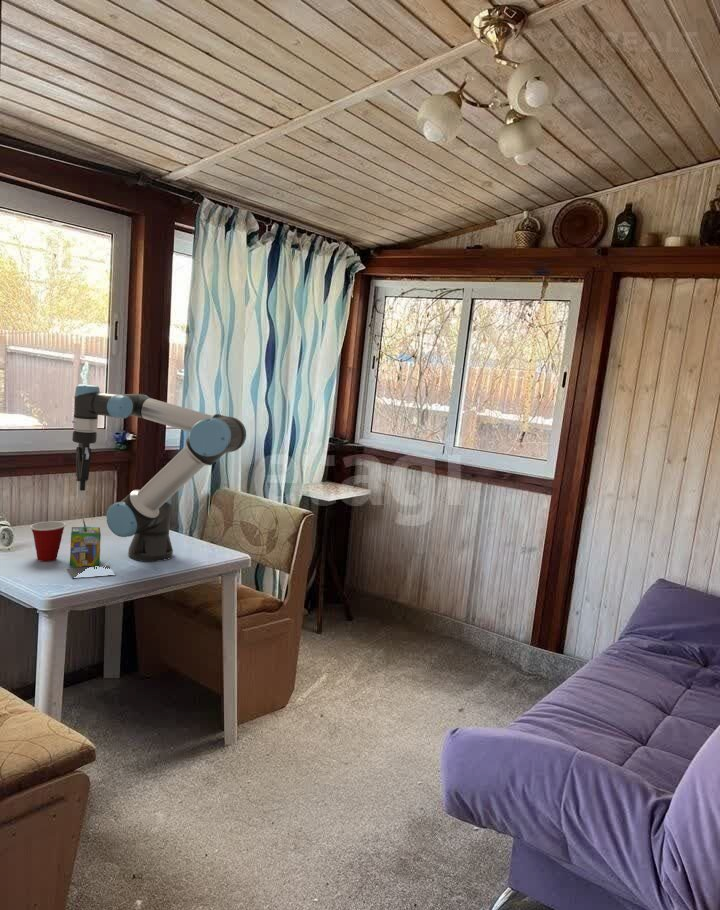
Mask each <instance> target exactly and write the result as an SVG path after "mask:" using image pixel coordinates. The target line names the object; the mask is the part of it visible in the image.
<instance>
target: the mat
mask: <svg viewBox="0 0 720 910" xmlns="http://www.w3.org/2000/svg"><path fill="white" fill-rule="evenodd" d="M100 566H101V565H100ZM100 566H99V567H100ZM103 566H104V567H105V566H106V567H105V569H106V568H107V569H108V568H109V569H110V568H111V566H110V565H103ZM93 567H94V569H95V566H93ZM104 567H103V568H104ZM88 568H89V567H88ZM85 569H87V567H68V568H66V571H67V570H68V571H67V573H68V572H69V573H70V574H69V573H68V574H69V576H70V575H71V576H72V577H71V576H70V577H71V579H72V578H74V577H76V576H77V575H78V573H79V574H80V573H82V572H83V571H85ZM96 569H97V567H96Z"/></svg>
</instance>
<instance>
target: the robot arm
mask: <svg viewBox="0 0 720 910" xmlns="http://www.w3.org/2000/svg"><path fill="white" fill-rule="evenodd" d="M73 398H74V401H73V402H74V406H73V407H74V414H73V420H71V423H72V424H73V425H72V427H73V429H74V430H73V431H72V439H71V440H72V442H74V443H78V445H77V447H76V449H75V452H76V454H75V455H76V459H75V460H76V462H75V463H76V466H75V467H76V470H75V471H76V473H75V476H76V495H75V496H76V500H77V501H80V500H83V501H84V500H86V499H87V481H88V480H89V476H90V468H91V460H92V456H93V455H92V448H90V447H91V445H90V444H95V443H97V438H98V437H97V435H98V433H97V431H98V422H99V418H98V417H99V416H103V417H111V418H114V419H127V418H129V417H136V418H140V419H143V420H144V419H145V420H147V421H151V422H154V423H156V424H157V423H158V424H161V425H164V426H168V427H171V428H174V429H178V430H182V431H184V432H188V433H189V436H187V438H186V439H185V446H184V447H183V448H182V449H181V450H180V451H179V452H178V453H176V455H175V456H173V458H171V460H169V462H167V464H166V465H164V467H162V468H161V469H160V470H159V471H158V472H157V473H156V474H155V475H154V476H153V477H151V479H149V481H148V482H147V483H146V484H145V485H144V486H143V487H141V489H133V490H132V491H130V493H129V494H127V495H126V496H125V497H124V498H123V499H122V500H121V501H117V502H115V503H113V504H111V505H110V506H109V507H108V508H107V511H106V515H105V516H106V524H107V527H108V529H109V530H110V531H111V533H113V535H115V536H117V537H120V538H127V537H132V536H133V537H132V539H131V542H130V545H129V547H128V553H127V554H128V555H127V557H129V558H130V559H133V560H136V561H140V560H142V561H141V562H158V561H157V560H163V561H165V560H164V559H167V560H169V559H168V558H170V559H172V558H173V554H174V553H173V552H174V549H173V546H172V545H173V544H172V541H171V538H170V525H171V524H170V523H171V512H172V497H173V496H174V494H176V493H177V492H178V491H179V490H180V489H181V488H182V487H183V486H184V485H185V484H186V483H188V482H189V481H190V480H191V479H192V478H193V477H194V476H195V475H196V474H198V472H199V471H201V469H202V468H203V467H205V466H213V465H214V464H215V463H216V462H217V461H218V460H219V459H221V457H222V456H224V454H227V453H233V452H235V451H238V450H239V449H241V447H243V446H244V444H245V441H246V440H247V429H246V426H245V425H244V423H243V422H242V421H241V420H240V419H239V418H236V417H232V416H226V415H223V414H218V413H215V414H213V415H211V414H208V413H204V412H200V411H197V410H194V409H189V408H187V407H183V406H179V405H176V404H172V403H170V402H166V401H161V400H158V399H154V398H152V397H149V396H148V395H146V394H142V393H127V394H126V393H121V394H120V393H104V392H101V391H100V387H99V385H93V384H82V383H80V384H77V385H76V387H75V392H74V397H73ZM171 557H172V558H171Z"/></svg>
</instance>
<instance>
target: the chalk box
mask: <svg viewBox="0 0 720 910" xmlns="http://www.w3.org/2000/svg"><path fill="white" fill-rule="evenodd" d="M82 523H83V526H71V533H70V552H69V554H70V555H69V568H79V567H80V566H81V567H82V566H93V567H95V566H101V565H100V563H101V561H100V559H101V558H100V557H101V537H102V536H101V535H102V534H101V528H100V527H99V526H98V527H97V526H87V525H86V522H85V519H84V518H82Z"/></svg>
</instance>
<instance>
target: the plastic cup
mask: <svg viewBox="0 0 720 910" xmlns="http://www.w3.org/2000/svg"><path fill="white" fill-rule="evenodd" d="M66 526H67V525H66V523H65V522H63V521H57V520H53V521H52V520H51V521H40V522H36V523H33V524H31V525H30V526H29V527H30V529H31V531H32V535H33V539H34V540H33V541H34V546H35V551H36V553H35V554H36V558H37V560H38V561H39V560H40V561H39V562H52V561H53V560H54V561H56V560H57V558H58V554H59V550H60V547H61V542H62V538H63V537H62V536H63V534H64V530H65V527H66ZM54 561H53V562H54Z"/></svg>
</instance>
